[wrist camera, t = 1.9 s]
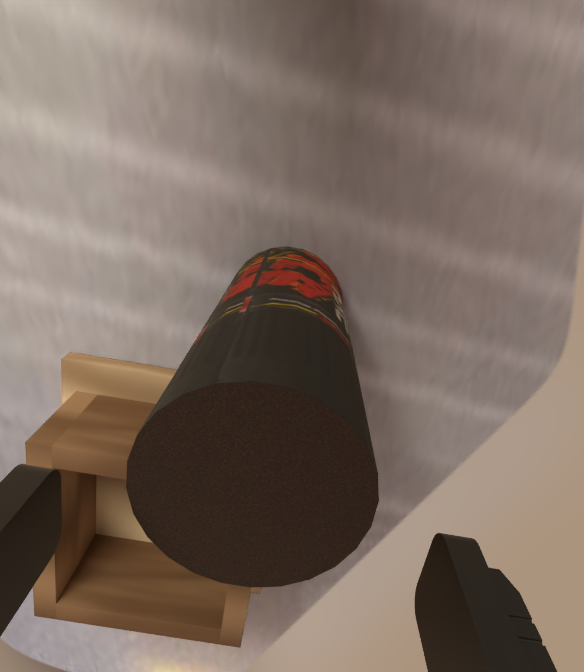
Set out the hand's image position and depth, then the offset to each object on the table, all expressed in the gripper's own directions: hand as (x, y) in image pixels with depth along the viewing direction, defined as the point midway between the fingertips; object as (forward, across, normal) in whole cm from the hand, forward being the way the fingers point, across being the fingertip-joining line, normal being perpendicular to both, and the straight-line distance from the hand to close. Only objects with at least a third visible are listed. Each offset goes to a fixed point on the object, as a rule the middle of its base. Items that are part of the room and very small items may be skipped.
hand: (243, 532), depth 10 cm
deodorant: (+16, 0, 0) cm, 16 cm away
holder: (+16, +5, +12) cm, 21 cm away
